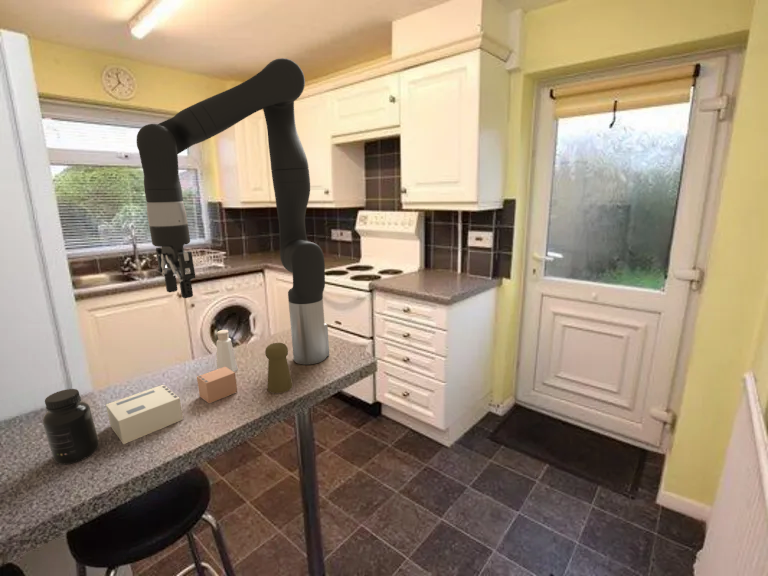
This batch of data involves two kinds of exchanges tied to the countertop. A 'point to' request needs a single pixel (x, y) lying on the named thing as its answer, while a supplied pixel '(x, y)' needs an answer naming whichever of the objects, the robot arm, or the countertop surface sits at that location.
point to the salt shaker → (225, 351)
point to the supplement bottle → (69, 427)
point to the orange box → (217, 384)
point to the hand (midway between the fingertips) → (179, 294)
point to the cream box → (144, 413)
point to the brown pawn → (278, 368)
